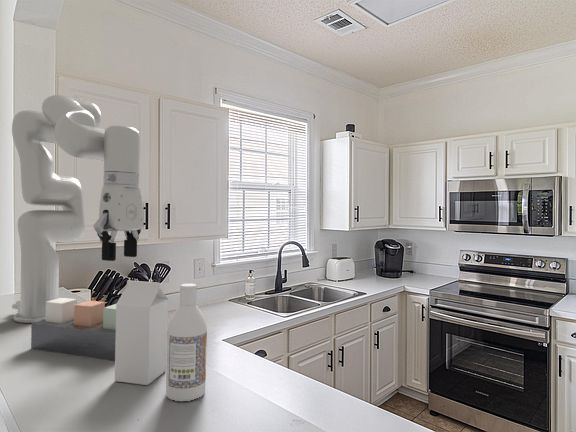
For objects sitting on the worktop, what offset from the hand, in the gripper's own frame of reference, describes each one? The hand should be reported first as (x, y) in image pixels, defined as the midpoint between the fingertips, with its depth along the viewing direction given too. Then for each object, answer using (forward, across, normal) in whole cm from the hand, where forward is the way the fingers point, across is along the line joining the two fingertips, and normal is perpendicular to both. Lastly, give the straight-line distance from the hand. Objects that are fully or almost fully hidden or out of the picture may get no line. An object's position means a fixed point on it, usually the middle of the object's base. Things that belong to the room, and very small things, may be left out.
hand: (119, 257), depth 92 cm
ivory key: (+17, 0, +16) cm, 24 cm away
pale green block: (+17, 0, 0) cm, 17 cm away
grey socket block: (+22, 0, +8) cm, 23 cm away
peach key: (+17, 0, +8) cm, 19 cm away
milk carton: (+22, -10, -13) cm, 27 cm away
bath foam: (+22, -14, -25) cm, 36 cm away
